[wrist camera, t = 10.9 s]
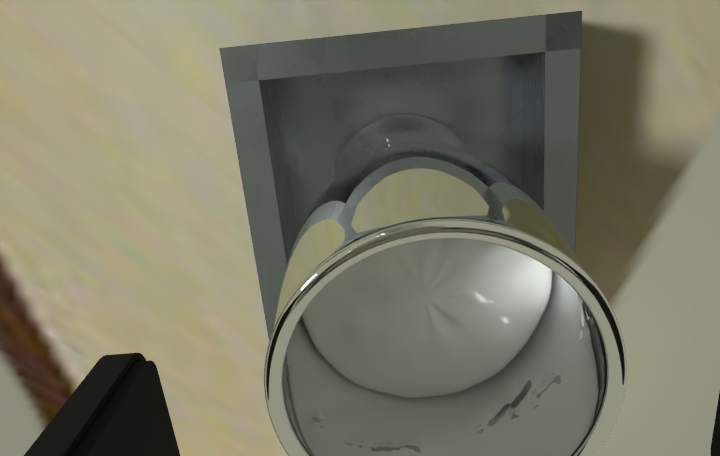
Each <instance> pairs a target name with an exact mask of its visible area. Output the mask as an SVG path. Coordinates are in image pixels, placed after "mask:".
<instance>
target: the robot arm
mask: <svg viewBox="0 0 720 456" xmlns="http://www.w3.org/2000/svg"><path fill="white" fill-rule="evenodd" d="M24 456H180V453H179V449H178V446H177V442H176V438H175V434H174V431H173V427H172V423H171V419H170V416H169V412H168V408H167V405H166V401H165V397H164V393H163V390H162V386H161V382H160V378H159V375H158V371H157V368H156V365H155V364H154V362H153V361H146V359H145V358H144V356H143V355H142V354H140V353H130V354H117V355H106V356H103V357H102V358H101V359H100V360H99V361H98V362H97V363H96V365H95V366H94V367H93V369H92V370H91V371H90V372H89V374H88V375H87V376H86V377H85V379H84V380H83V381H82V382H81V384H80V385H79V386H78V388H77V389H76V390H75V391H74V393H73V394H72V395H71V396H70V398H69V399H68V400H67V402H66V403H65V404H64V405H63V407H62V408H61V409H60V410H59V412H58V413H57V414H56V416H55V417H54V418H53V419H52V421H51V422H50V423H49V424H48V426H47V427H46V428H45V430H44V431H43V432H42V433H41V435H40V436H39V437H38V438H37V440H36V441H35V442H34V443H33V445H32V446H31V447H30V449H29V450H28V451H27V452H26V454H25V455H24ZM711 456H720V393H719V400H718V406H717V412H716V419H715V425H714V432H713V438H712V444H711Z"/></svg>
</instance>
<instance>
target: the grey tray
mask: <svg viewBox="0 0 720 456" xmlns="http://www.w3.org/2000/svg"><path fill="white" fill-rule="evenodd" d="M581 26H582V11H576V12H567V13H557V14H547V15H537V16H528V17H518V18H508V19H499V20H489V21H479V22H470V23H460V24H450V25H441V26H431V27H421V28H412V29H402V30H392V31H383V32H373V33H363V34H353V35H344V36H334V37H324V38H315V39H305V40H295V41H286V42H276V43H266V44H257V45H247V46H237V47H228V48H220V54H221V60H222V66H223V72H224V77H225V83H226V89H227V95H228V101H229V107H230V113H231V119H232V125H233V130H234V136H235V142H236V148H237V154H238V160H239V166H240V172H241V178H242V183H243V189H244V195H245V201H246V207H247V213H248V219H249V225H250V231H251V236H252V242H253V248H254V254H255V260H256V266H257V272H258V278H259V284H260V290H261V295H262V301H263V307H264V313H265V319H266V325H267V331H268V337H269V341H270V337H271V334H272V332H273V329H274V324H275V318H276V311H277V305H278V301H279V296H280V291H281V286H282V281H283V277H284V274H285V270H286V267H287V263H288V260H289V257H290V254H291V250H292V247H293V245H294V242H295V240H296V237H297V235H298V233H299V231H300V229H301V227H302V225H303V223H304V221H305V219H306V217H307V215H308V213H309V211H310V210H311V208H312V206H313V205H314V203H315V202H316V200H317V199H318V198H319V196H320V195H321V194H322V193H323V192H324V191H325V189H326V188H327V187H328V186H329V185H330V184H331V183H332V182H333V181H334V174H335V169H336V165H337V161H338V159H339V156H340V154H341V152H342V150H343V149H344V147H345V146H346V144H347V143H348V142H349V140H350V139H351V138H352V137H353V136H354V135H355V134H356V133H357V132H358V131H360V130H361V129H362V128H364V127H365V126H366V125H368V124H370V123H372V122H374V121H376V120H378V119H381V118H384V117H387V116H392V115H399V114H411V115H419V116H423V117H427V118H430V119H432V120H435V121H437V122H439V123H441V124H442V125H444V126H445V127H447V128H448V129H449V130H451V131H452V132H453V133H454V134H455V135H456V136H457V137H458V138H459V139H460V141H461V142H462V143H463V145H464V147H465V148H466V150H467V152H468V154H470V155H472V156H475V157H477V158H479V159H481V160H483V161H485V162H487V163H489V164H491V165H493V166H494V167H496V168H497V169H499V170H500V171H502V172H503V173H504V174H505V175H507V176H508V177H509V178H510V179H511V180H513V181H514V182H515V183H516V184H517V185H518V186H520V187H521V188H522V189H523V190H524V191H525V192H526V193H527V194H528V195H530V196H531V197H532V199H533V200H534V201H535V202H536V203H537V204H538V205H539V207H540V208H541V209H542V210H543V211H544V213H545V214H546V215H547V216H548V217H549V219H550V220H551V221H552V222H553V223H554V225H555V226H556V227H557V229H558V230H559V231H560V233H561V234H562V236H563V237H564V239H565V240H566V242H567V243H568V245H569V246H570V248H571V249H572V251H573V252H574V254H575V233H576V199H577V164H578V130H579V95H580V61H581Z"/></svg>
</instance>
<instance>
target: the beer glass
mask: <svg viewBox="0 0 720 456" xmlns="http://www.w3.org/2000/svg"><path fill="white" fill-rule="evenodd" d="M626 379H627V360H626V351H625V344H624V340H623V336H622V332H621V329H620V326H619V323H618V321H617V318H616V316H615V313H614V311H613V309H612V307H611V305H610V304H609V302H608V300H607V298H606V297H605V295H604V294H603V292H602V291H601V289H600V288H599V287H598V285H597V284H596V283H595V282H594V281H593V279H592V278H591V277H590V276H589V275H588V274H587V273H586V271H585V270H584V268H583V267H582V265H581V263H580V262H579V260H578V258H577V257H576V255H575V254H574V252H573V251H572V249H571V248H570V246H569V245H568V243H567V242H566V240H565V239H564V237H563V236H562V234H561V233H560V231H559V230H558V229H557V227H556V226H555V225H554V223H553V222H552V221H551V220H550V219H549V217H548V216H547V215H546V214H545V213H544V211H543V210H542V209H541V208H540V207H539V205H538V204H537V203H536V202H535V201H534V200H533V199H532V197H531V196H530V195H528V194H527V193H526V192H525V191H524V190H523V189H522V188H521V187H520V186H518V185H517V184H516V183H515V182H514V181H513V180H511V179H510V178H509V177H508V176H507V175H505V174H504V173H503V172H502V171H500V170H499V169H497V168H496V167H494V166H493V165H491V164H489V163H487V162H485V161H483V160H481V159H479V158H477V157H475V156H472V155H470V154H468V152H467V150H466V148H465V147H464V145H463V143H462V142H461V141H460V139H459V138H458V137H457V136H456V135H455V134H454V133H453V132H452V131H451V130H449V129H448V128H447V127H445V126H444V125H442V124H441V123H439V122H437V121H435V120H432V119H430V118H427V117H423V116H419V115H411V114H399V115H392V116H387V117H384V118H381V119H378V120H376V121H374V122H372V123H370V124H368V125H366V126H365V127H364V128H362V129H361V130H360V131H358V132H357V133H356V134H355V135H354V136H353V137H352V138H351V139H350V140H349V142H348V143H347V144H346V146H345V147H344V149H343V150H342V152H341V154H340V156H339V159H338V161H337V165H336V169H335V174H334V181H333V182H332V183H331V184H330V185H329V186H328V187H327V188H326V189H325V191H324V192H323V193H322V194H321V195H320V196H319V198H318V199H317V200H316V202H315V203H314V205H313V206H312V208H311V210H310V211H309V213H308V215H307V217H306V219H305V221H304V223H303V225H302V227H301V229H300V231H299V233H298V235H297V237H296V240H295V242H294V245H293V247H292V250H291V254H290V257H289V260H288V263H287V267H286V270H285V274H284V277H283V281H282V286H281V291H280V296H279V301H278V305H277V311H276V318H275V324H274V329H273V332H272V334H271V337H270V341H269V344H268V348H267V353H266V359H265V368H264V388H265V398H266V404H267V408H268V413H269V416H270V420H271V423H272V425H273V428H274V430H275V433H276V435H277V437H278V439H279V441H280V443H281V445H282V446H283V448H284V450H285V451H286V453H287V454H288V456H597V455H598V453H599V452H600V451H601V449H602V448H603V446H604V445H605V443H606V441H607V440H608V438H609V436H610V434H611V432H612V430H613V428H614V426H615V423H616V421H617V419H618V416H619V413H620V410H621V407H622V403H623V399H624V394H625V388H626Z"/></svg>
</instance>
